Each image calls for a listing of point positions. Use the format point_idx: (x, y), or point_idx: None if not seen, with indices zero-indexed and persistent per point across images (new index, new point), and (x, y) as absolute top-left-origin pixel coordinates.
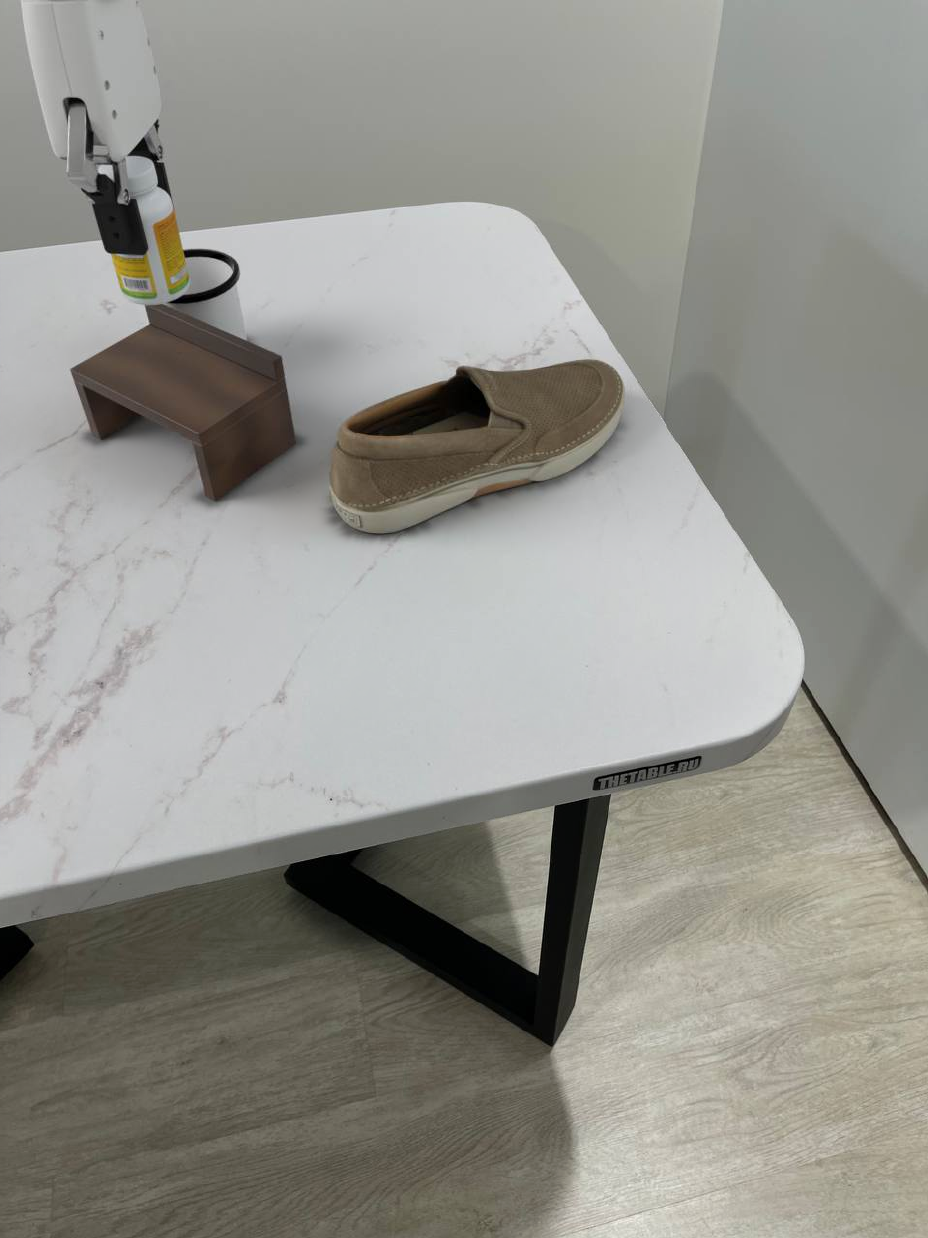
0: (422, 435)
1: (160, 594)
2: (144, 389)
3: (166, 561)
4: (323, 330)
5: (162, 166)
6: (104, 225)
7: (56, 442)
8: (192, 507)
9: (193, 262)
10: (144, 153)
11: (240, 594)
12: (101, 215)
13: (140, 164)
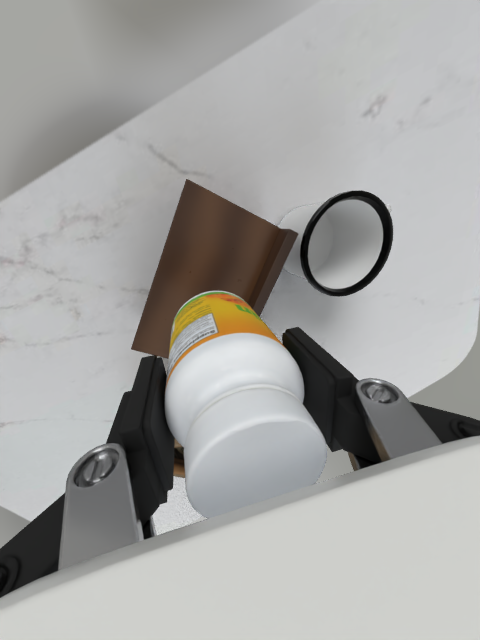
0: (176, 473)
1: (38, 330)
2: (175, 276)
3: (70, 319)
4: (339, 310)
5: (330, 449)
6: (116, 419)
7: (166, 159)
8: (130, 310)
9: (378, 232)
10: (354, 443)
11: (65, 373)
12: (107, 439)
13: (279, 491)
